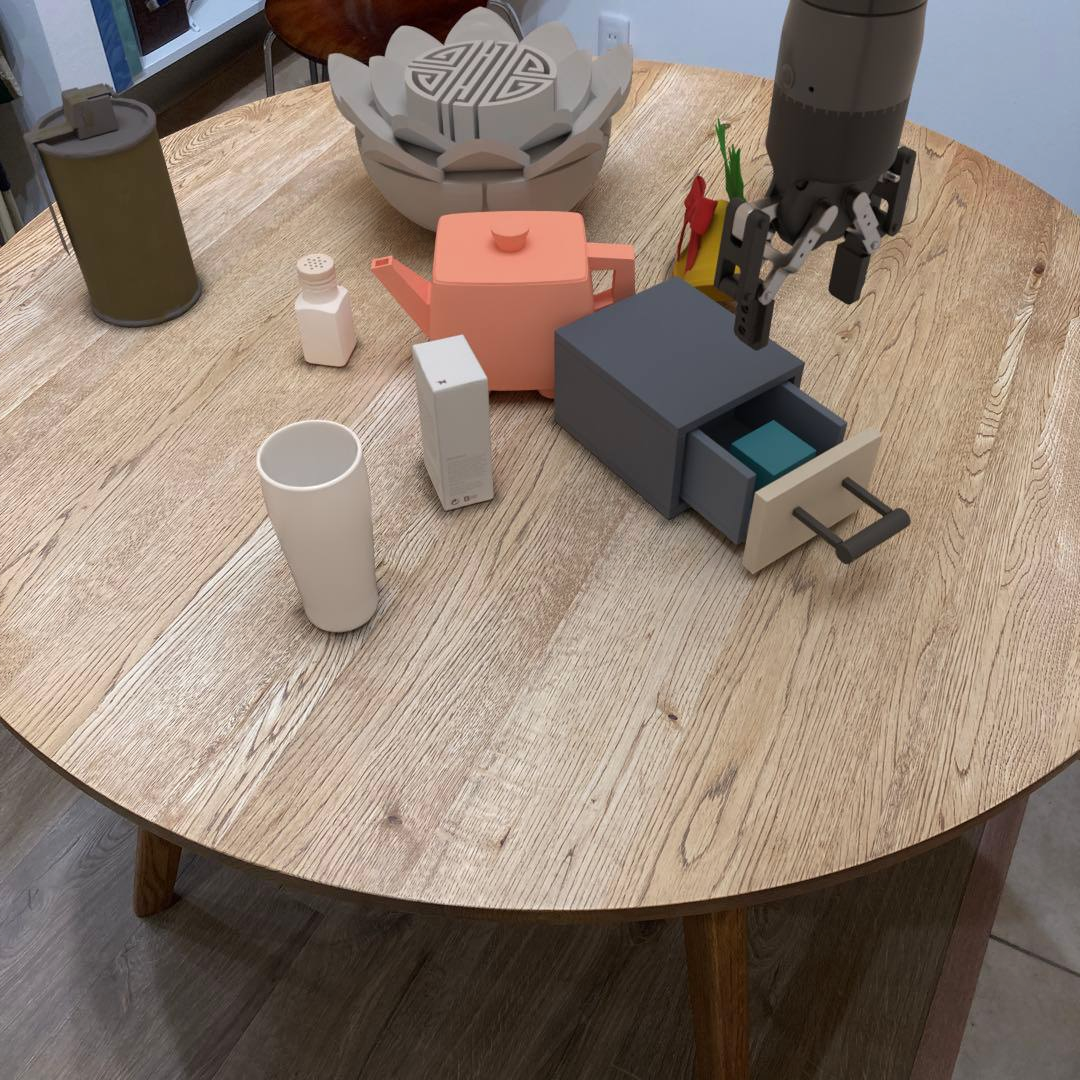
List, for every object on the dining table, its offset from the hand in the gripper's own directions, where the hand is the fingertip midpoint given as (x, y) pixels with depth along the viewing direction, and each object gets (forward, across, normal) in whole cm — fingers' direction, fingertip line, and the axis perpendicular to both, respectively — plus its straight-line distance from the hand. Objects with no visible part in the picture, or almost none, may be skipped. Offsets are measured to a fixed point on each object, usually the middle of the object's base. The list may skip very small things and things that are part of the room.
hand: (798, 320), depth 73 cm
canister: (+18, -27, +57) cm, 66 cm away
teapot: (+18, -5, +27) cm, 33 cm away
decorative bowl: (+18, +8, +51) cm, 55 cm away
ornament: (+18, +19, +27) cm, 38 cm away
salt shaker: (+18, -17, +38) cm, 45 cm away
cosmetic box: (+18, -17, +17) cm, 30 cm away
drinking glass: (+18, -31, +11) cm, 38 cm away
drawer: (+17, 0, -1) cm, 17 cm away
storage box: (+18, 0, +11) cm, 21 cm away
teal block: (+16, 0, 0) cm, 16 cm away
